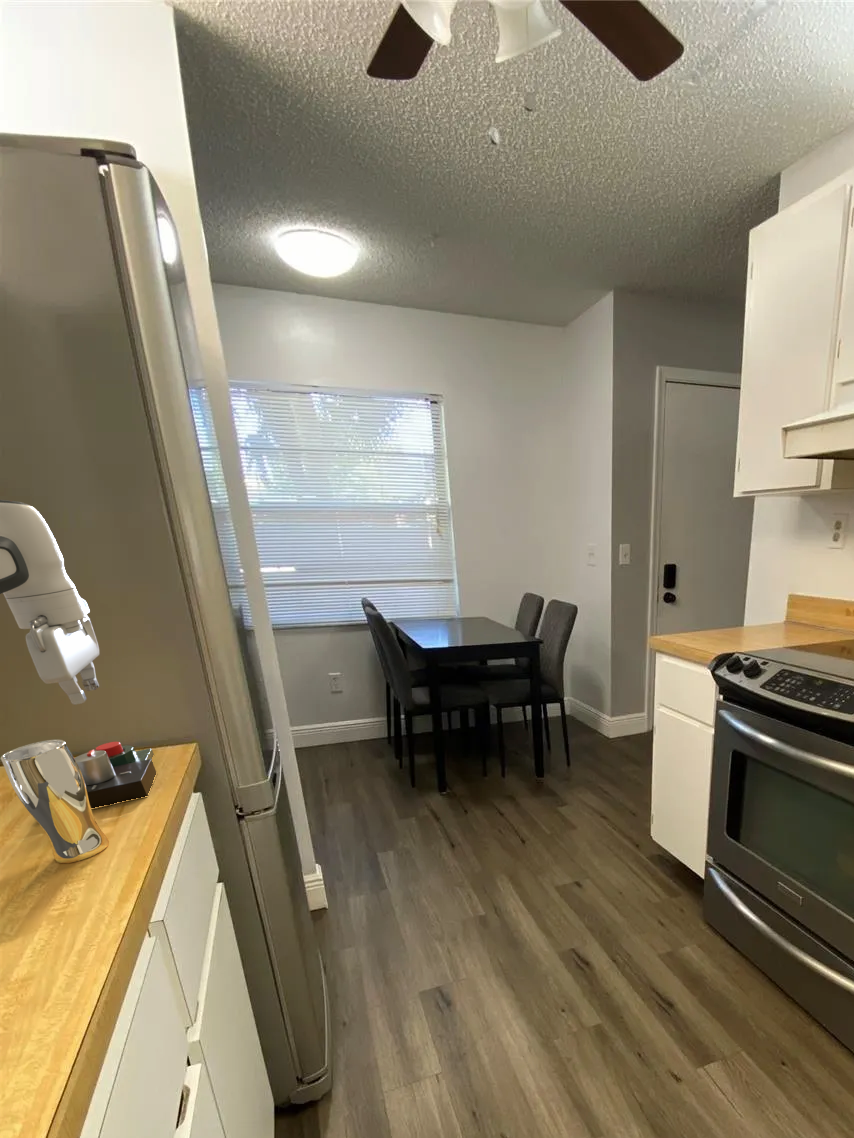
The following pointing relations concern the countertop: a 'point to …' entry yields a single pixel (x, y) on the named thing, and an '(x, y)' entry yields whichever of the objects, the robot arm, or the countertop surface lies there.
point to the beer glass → (56, 798)
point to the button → (110, 748)
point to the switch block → (130, 756)
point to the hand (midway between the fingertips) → (86, 695)
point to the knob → (95, 767)
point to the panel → (123, 784)
